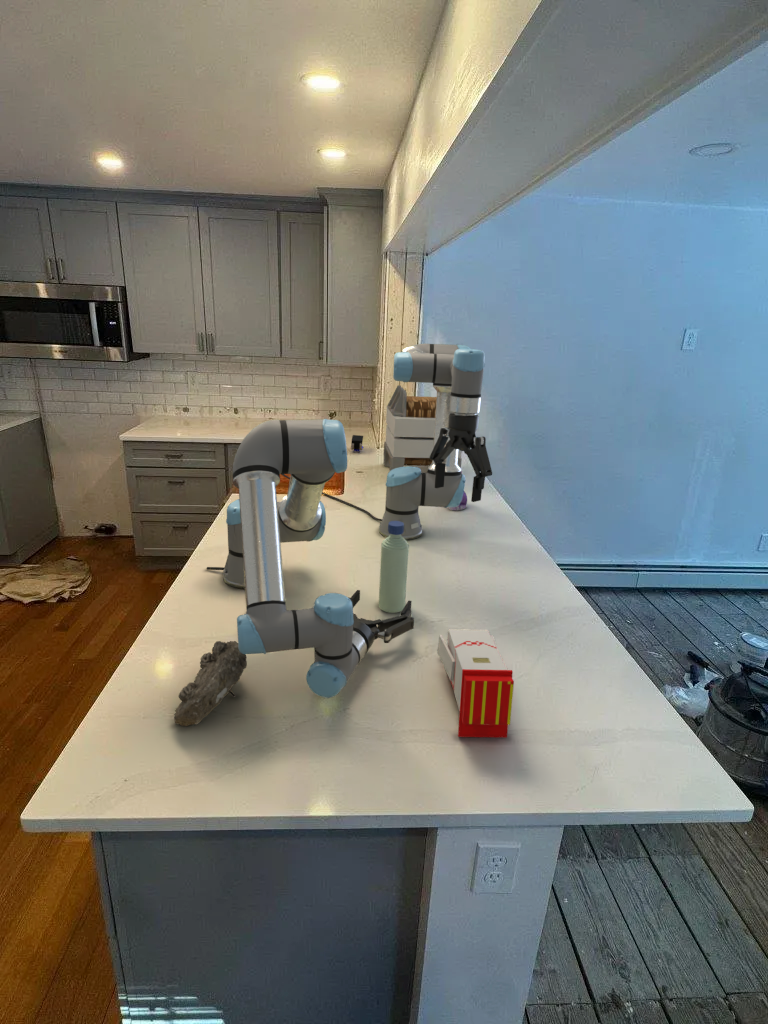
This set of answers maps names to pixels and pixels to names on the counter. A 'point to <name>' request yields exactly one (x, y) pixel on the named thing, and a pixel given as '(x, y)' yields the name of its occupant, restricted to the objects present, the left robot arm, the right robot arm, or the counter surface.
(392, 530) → the cap
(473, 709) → the toy
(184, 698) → the fossil
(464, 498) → the figurine
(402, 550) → the bottle
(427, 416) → the white slatted crate
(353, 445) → the figurine character
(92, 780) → the counter surface
